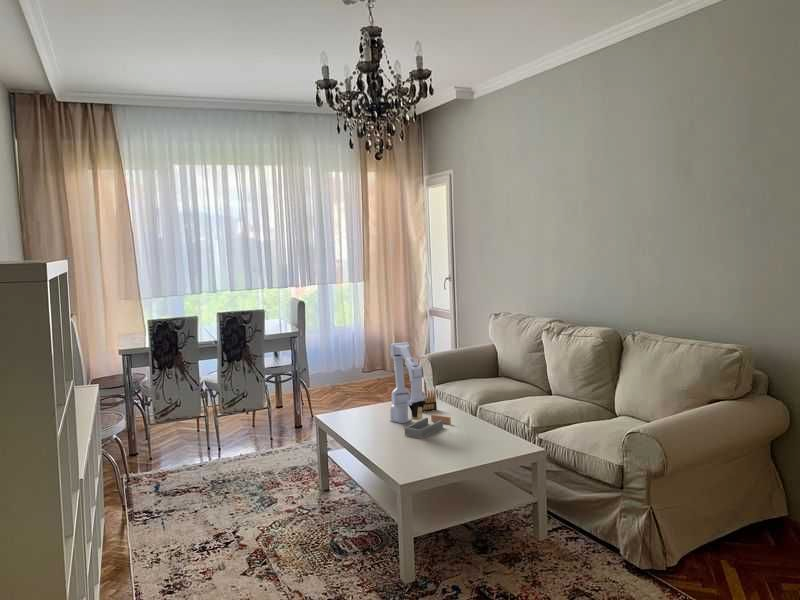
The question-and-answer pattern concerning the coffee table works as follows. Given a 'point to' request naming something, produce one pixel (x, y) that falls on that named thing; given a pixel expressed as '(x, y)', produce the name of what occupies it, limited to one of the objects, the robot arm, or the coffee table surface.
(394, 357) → the robot arm
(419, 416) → the block
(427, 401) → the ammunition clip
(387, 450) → the coffee table surface
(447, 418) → the end cap
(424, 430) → the tray
